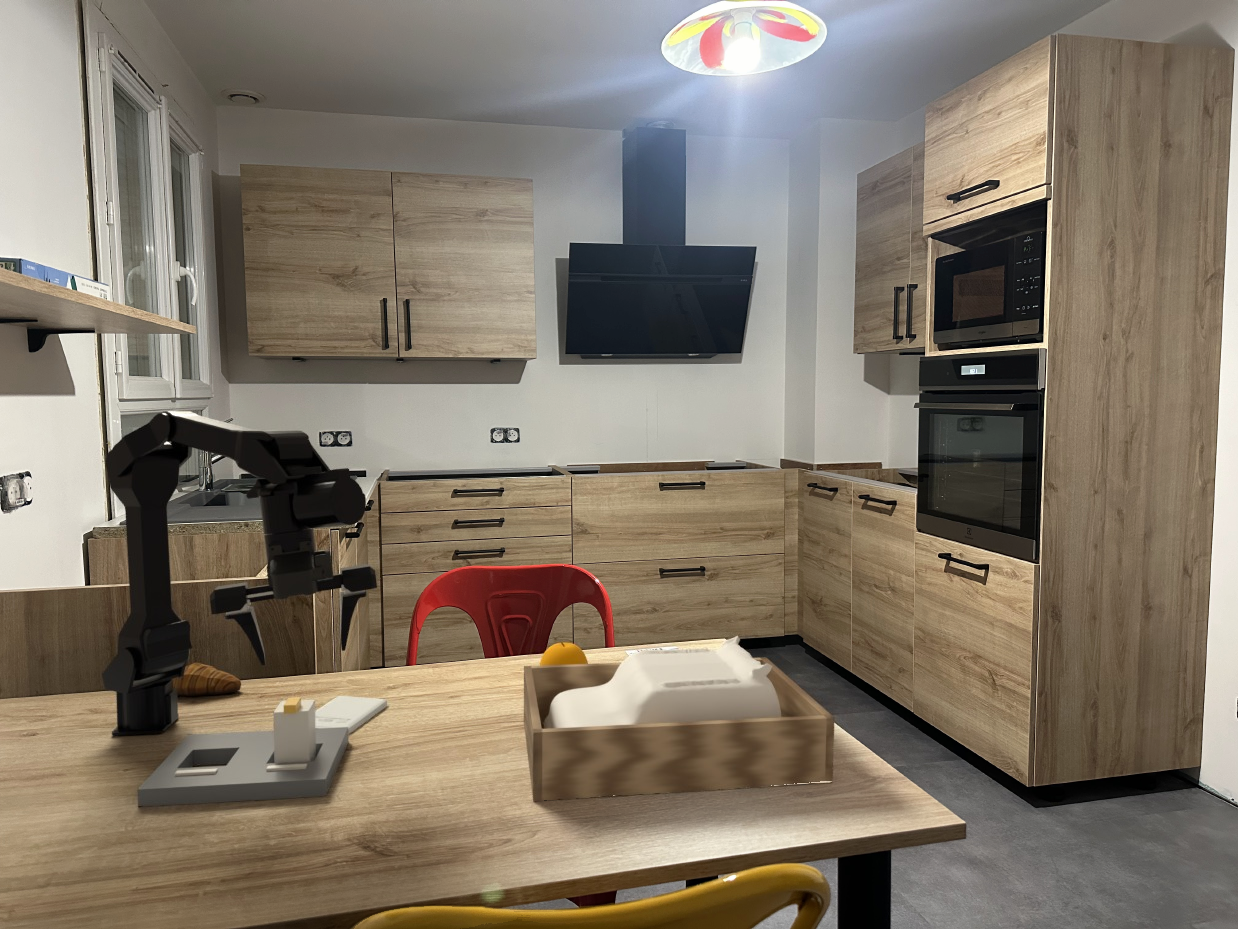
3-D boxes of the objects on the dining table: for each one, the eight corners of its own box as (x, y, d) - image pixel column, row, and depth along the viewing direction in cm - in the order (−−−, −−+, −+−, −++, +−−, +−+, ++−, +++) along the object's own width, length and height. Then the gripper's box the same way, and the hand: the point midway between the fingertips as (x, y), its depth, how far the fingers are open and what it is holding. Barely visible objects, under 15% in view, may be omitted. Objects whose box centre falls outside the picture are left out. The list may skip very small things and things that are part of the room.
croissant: (140, 702, 127) (139, 669, 126) (162, 687, 133) (161, 656, 133) (231, 701, 127) (231, 668, 127) (248, 686, 134) (248, 655, 134)
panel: (138, 807, 93) (137, 786, 93) (188, 749, 109) (188, 732, 108) (325, 796, 96) (325, 776, 96) (348, 741, 112) (348, 724, 112)
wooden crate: (533, 801, 95) (533, 732, 95) (523, 721, 120) (523, 666, 119) (832, 782, 101) (834, 717, 100) (764, 709, 125) (766, 657, 125)
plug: (273, 779, 100) (272, 706, 100) (282, 763, 105) (281, 693, 104) (308, 777, 101) (307, 704, 100) (315, 761, 105) (315, 691, 105)
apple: (587, 697, 130) (587, 650, 130) (536, 696, 130) (536, 649, 130) (589, 681, 138) (590, 636, 138) (542, 680, 138) (542, 635, 138)
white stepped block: (796, 776, 103) (799, 669, 102) (554, 792, 98) (555, 680, 97) (747, 720, 122) (749, 629, 121) (541, 731, 117) (542, 636, 116)
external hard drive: (387, 709, 126) (344, 741, 113) (337, 705, 127) (289, 736, 115) (387, 699, 125) (344, 729, 113) (337, 695, 127) (289, 724, 115)
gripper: (197, 546, 92) (215, 687, 92) (373, 522, 99) (389, 653, 99) (207, 541, 102) (223, 668, 102) (365, 520, 109) (380, 639, 109)
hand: (304, 657), depth 103 cm, fingers open, 9 cm apart
